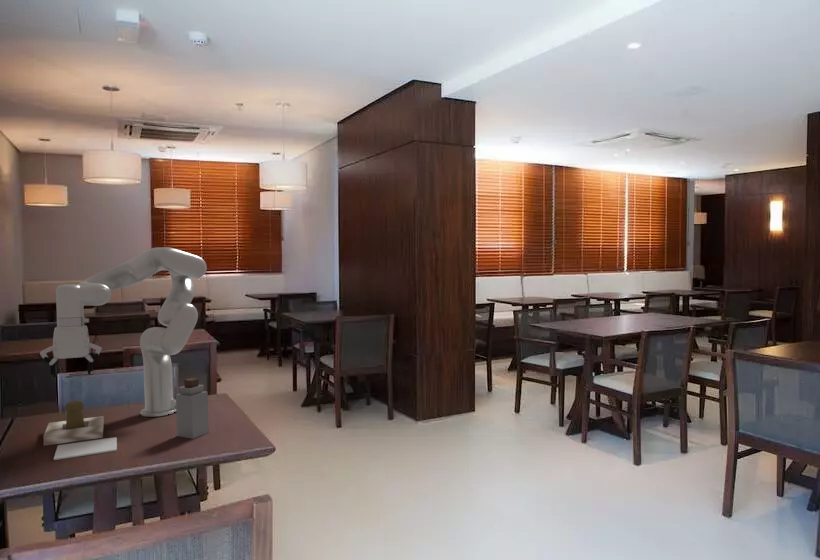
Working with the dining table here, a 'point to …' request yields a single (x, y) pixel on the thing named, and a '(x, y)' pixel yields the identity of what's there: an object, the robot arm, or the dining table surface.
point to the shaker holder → (74, 431)
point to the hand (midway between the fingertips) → (72, 375)
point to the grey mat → (86, 448)
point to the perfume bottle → (192, 409)
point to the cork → (74, 415)
